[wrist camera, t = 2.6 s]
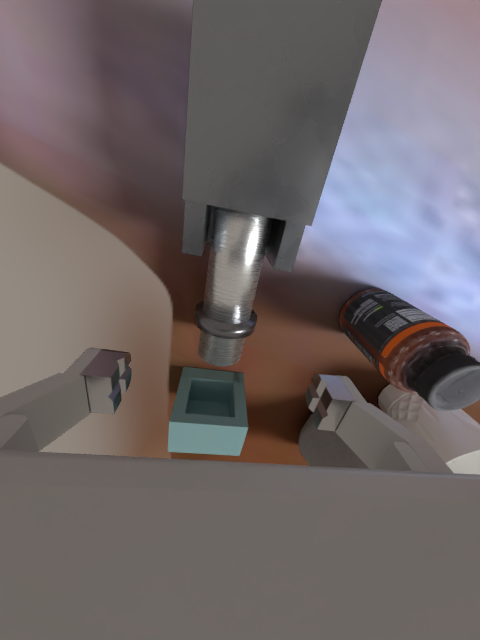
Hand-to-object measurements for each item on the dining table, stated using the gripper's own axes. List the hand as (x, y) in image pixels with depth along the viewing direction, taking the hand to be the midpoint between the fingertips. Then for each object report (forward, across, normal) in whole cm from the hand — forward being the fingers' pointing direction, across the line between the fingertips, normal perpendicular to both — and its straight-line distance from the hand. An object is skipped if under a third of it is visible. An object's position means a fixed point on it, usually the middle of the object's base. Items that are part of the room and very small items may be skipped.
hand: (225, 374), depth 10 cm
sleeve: (+13, 0, -9) cm, 16 cm away
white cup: (+14, -26, +12) cm, 32 cm away
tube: (+12, 0, -4) cm, 12 cm away
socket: (+14, 0, +13) cm, 19 cm away
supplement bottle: (+13, -15, +1) cm, 20 cm away
